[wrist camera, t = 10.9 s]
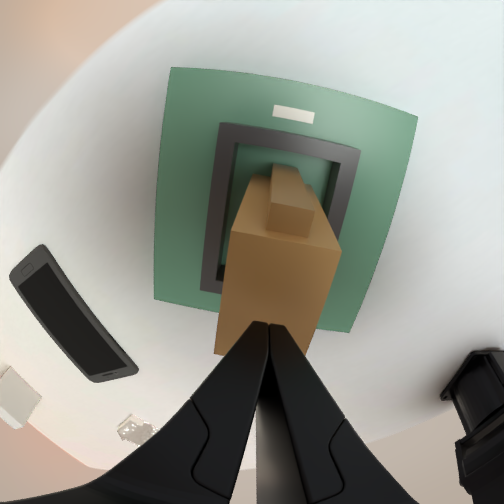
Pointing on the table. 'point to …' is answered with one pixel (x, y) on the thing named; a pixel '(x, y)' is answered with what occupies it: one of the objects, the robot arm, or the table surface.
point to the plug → (277, 260)
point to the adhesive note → (16, 399)
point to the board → (261, 162)
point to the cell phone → (69, 318)
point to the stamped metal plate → (136, 430)
